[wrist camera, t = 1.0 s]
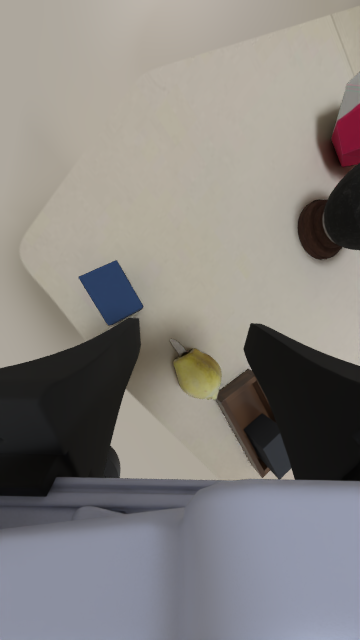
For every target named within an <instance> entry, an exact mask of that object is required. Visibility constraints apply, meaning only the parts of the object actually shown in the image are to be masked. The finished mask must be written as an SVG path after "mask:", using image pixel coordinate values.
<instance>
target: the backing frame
mask: <svg viewBox="0 0 360 640" xmlns="http://www.w3.org/2000/svg"><path fill="white" fill-rule="evenodd" d="M216 401H217V403H218V405H219V406H220V408H221V410H222V412H223V414H224V415H225V417H226V419H227V421H228V423H229V425H230V426H231V428H232V430H233V432H234V434H235V435H236V437H237V439H238V441H239V443H240V444H241V446H242V448H243V450H244V452H245V453H246V455H247V457H248V459H249V461H250V462H251V464H252V466H253V467H254V468H255V470H256V471H257V472H258V473H259V475H260V476H261V477H262V478H263V477H264V476H265V475H266V474H267V473H268V472H269V471H270V469H269V468H268V467H267V466H266V465H265V463H264V462H263V461H262V460H261V459H260V458H259V457H258V455H257V453H256V452H255V450H254V448H253V446H252V444H251V442H250V441H249V439H248V437H247V435H246V433H245V431H244V428H246V427H247V426H248V425H249V424H250V423H251V422H252V421H254V420H255V419H256V418H257V417H258V416H259V415H261V414H262V413H263V414H264V415H266V416H267V417H268V418H270V419H271V420H272V421H274V422H275V423H276V420H275V418H274V415H273V413H272V410H271V408H270V405H269V403H268V400H267V398H266V396H265V394H264V392H263V390H262V388H261V386H260V384H259V382H258V380H257V379H256V377H255V375H254V373H253V371H252V370H249V369H248V370H246V371H245V372H244V373H242V374H241V375H240V376H238V377H237V378H236V379H234V380H233V381H232V382H231V383H229V384H228V385H227V386H225V387H224V388H223V389H221V390H220V391H219V392H218V396H217V399H216Z"/></svg>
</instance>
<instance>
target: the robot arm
mask: <svg viewBox="0 0 360 640" xmlns="http://www.w3.org/2000/svg"><path fill="white" fill-rule="evenodd" d="M140 346H141V341H140V327H139V318H128V319H126V320H125V321H123V322H121V323H120V324H118V325H116V326H115V327H113V328H111V329H110V330H108V331H106V332H104V333H102V334H100V335H99V336H97V337H95V338H93V339H91V340H89V341H87V342H84V343H82V344H80V345H77V346H75V347H73V348H70V349H67V350H64V351H61V352H58V353H56V354H53V355H50V356H46V357H43V358H40V359H36V360H33V361H29V362H25V363H21V364H17V365H13V366H8V367H4V368H0V640H360V366H358V365H355V364H352V363H349V362H346V361H343V360H340V359H338V358H335V357H332V356H330V355H327V354H325V353H322V352H319V351H317V350H315V349H312V348H310V347H308V346H306V345H304V344H301V343H299V342H297V341H295V340H293V339H291V338H289V337H287V336H285V335H283V334H281V333H279V332H277V331H275V330H273V329H271V328H269V327H267V326H265V325H262V324H253V323H251V324H250V328H249V331H248V335H247V338H246V342H245V346H244V352H245V355H246V358H247V361H248V363H249V365H250V367H251V369H252V371H253V373H254V375H255V377H256V379H257V380H258V382H259V384H260V386H261V388H262V390H263V392H264V394H265V396H266V398H267V400H268V403H269V405H270V408H271V410H272V413H273V415H274V418H275V420H276V423H277V426H278V428H279V431H280V434H281V437H282V440H283V443H284V446H285V449H286V452H287V455H288V458H289V461H290V465H291V468H292V471H293V475H294V478H295V480H280V479H244V480H233V481H227V480H178V479H128V478H125V479H123V478H103V474H104V469H105V465H106V461H107V456H108V452H109V448H110V443H111V439H112V435H113V431H114V427H115V424H116V420H117V416H118V412H119V409H120V405H121V401H122V398H123V395H124V392H125V389H126V386H127V384H128V381H129V379H130V376H131V374H132V371H133V369H134V366H135V364H136V361H137V358H138V355H139V351H140Z"/></svg>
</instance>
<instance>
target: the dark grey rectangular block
mask: <svg viewBox="0 0 360 640" xmlns="http://www.w3.org/2000/svg"><path fill="white" fill-rule="evenodd" d="M244 431H245V433H246V435H247V437H248V439H249V441H250V442H251V444H252V446H253V448H254V450H255V452H256V453H257V455H258V457H259V458H260V459H261V460H262V461H263V462H264V463H265V465H266V466H267V467H268V468H269V469H270V470H271V471H272V472H273V473H274V474H275V476H276V477H277V478H278V479H281V478H282V477H283V476H284V475H285V474H286V473H287V472H288V471H289V470H290V469H291V465H290V461H289V458H288V455H287V452H286V449H285V446H284V443H283V440H282V437H281V434H280V431H279V428H278V426H277V423H275V422H274V421H272V420H271V419H270V418H268V417H267V416H266V415H264V414H263V413H262V414H261V415H259V416H258V417H257V418H256V419H255V420H254V421H252V422H251V423H250V424H249V425H248V426H247V427H246V428H244Z"/></svg>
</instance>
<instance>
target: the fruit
mask: <svg viewBox="0 0 360 640" xmlns="http://www.w3.org/2000/svg"><path fill="white" fill-rule="evenodd" d="M170 342H171V344H172V345H173V347H174V348H175V349H176V351H177V352H178V354H179V356H180V357H179V358H176V359H175V360H174V367H175V369H176V373H177V377H178V381H179V384H180V387H181V388H182V390H183V391H184V392H185V393H186V394H188V395H189V396H192V397H194V398H199V399H207V400H209V399H213V400H215V399H217V396H218V392H219V387H220V384H221V377H222V373H221V369H220V366H219V365H218V363H217V362H216V361H215V360H214V359H213V358H212V357H210V356H209V355H207V354H204V353H202V352H200V351H199V350H197V349H195V348H193V349H192V350H189V351H185V349H184V348H183V346H182V345H181V344H180V343H179V342H177V341H175V340H174V339H170Z"/></svg>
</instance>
